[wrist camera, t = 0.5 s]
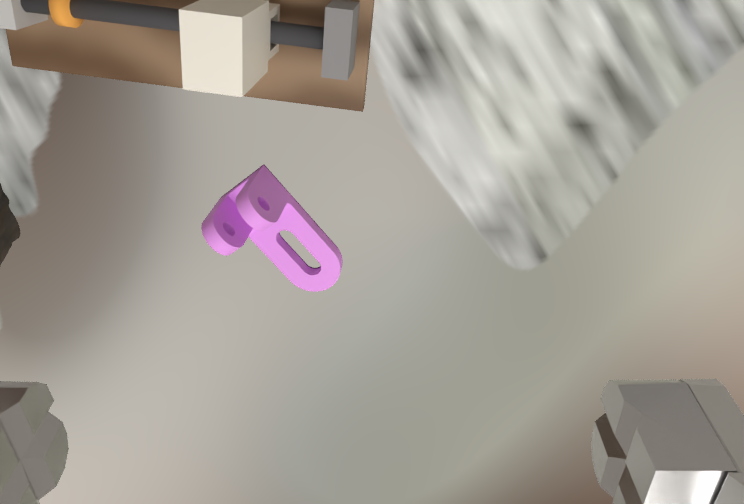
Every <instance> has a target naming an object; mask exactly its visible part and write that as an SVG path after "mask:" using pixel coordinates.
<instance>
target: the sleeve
mask: <svg viewBox="0 0 744 504" xmlns="http://www.w3.org/2000/svg"><path fill="white" fill-rule="evenodd" d="M271 21H278V22H280V4H275V3H269V1H268V0H199V1H196V2H194V3H192V4H190V5H187V6H185V7H183V8H181V9H179V26H180V46H181V65H182V84H183V89H184V90H192V91H199V92H207V93H215V94H222V95H230V96H238V97H243V96H244V95H245V94H246V93H247V92H248V91H249V90H250V89H251V88H252V87H253V86H254V85H255V84H256V83H257V82H258V81H259V80H260V79H261V78H262V77H263V76H264V75H265V74H266V73H267V72H268V61H269V60H270V59H271V58H272V57H273V56H274V55H275V54H276V53H277V52H278V51H279V44H274V43H270V28H271Z"/></svg>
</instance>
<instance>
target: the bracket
mask: <svg viewBox="0 0 744 504" xmlns="http://www.w3.org/2000/svg"><path fill="white" fill-rule="evenodd" d="M282 230H287V231H290V232H292V233H293V234H294V235H295V236H296V238H297V239H298V240H299V241H300V242H301V243H302V244H303V245H304V246H305V248H307V250H308V251H309V252H310V253H311V254H312V255H313V256H314V257H315V258H316V260H317V261H318V262H319V263H320V264H321V266H320V267H317V268H313V267H310V266H308V265H307V264H306V263H305V261H304V260H303V259H302V258H301V257H300V256H299V255H298V254H297V253H296V252H295V251H294V250H293V249H292V247H291V246H290V245H289V244H288V243H287V242H286V241H285V240H284V239H283V237H282V236H281V235H280V233H279V231H282ZM202 233H203V236H204V238H205V240H206V241H207V243H208V244H209V245H210V247H211V248H213V249H214V250H215V251H216V252H218V253H220V254H222V255H230V254H232V253H233V252H235V251H236V250H237V249H239V248H240V247H241V246H243V245H244V243H245V241H246V239H247V238H248V237H249V238H250V239H251V240H252V241H253V242H254V243H255V244H256V245H257V246H258V247H259V248H260V249H261V251H262V252H263V253H264V254H265V255H266V256H267V257H268V258H269V259H270V260H271V261H272V262H273V263H274V264H275V265H276V266H277V267H278V269H279V270H280V271H281V272H282V273H283V274H284V275H285V276H286V277H287V278H288V279H289V280H290V281H291V282H292V283H293V284H294V285H296V286H297V287H299V288H301V289H304V290H307V291H322V290H325V289H328V288H330V287H331V286H332V285H334V283H336V281H337V279H338V278H339V275H340V272H341V268H342V255H341V253H340V250H339V249H338V247H337V246H336V245H335V244H334V243H333V241H332V240H331V239H330V238H329V237H328V236H327V235H326V233H325V232H324V231H323V230H322V229H321V228H320V227H319V226H318V224H317V223H316V222H315V221H314V220H313V219H312V218H311V217H310V215H309V214H308V213H307V212H306V211H305V210H304V209H303V208H302V207H301V205H300V204H299V203H298V202H297V201H296V200H295V198H294V197H293V196H292V195H291V194H290V193H289V192H288V191H287V190H286V188H285V187H284V186H283V185H282V184H281V183H280V182H279V180H278V179H277V178H276V177H275V176H274V175H273V174H272V172H271V171H270V170H269V169H268V168H267V167H266V166H265V165H262V166H261V167H260V168H258V169H257V170H256V171H255V172H253V173H252V174H251V175H250V176H248V177H247V178H245V179H244V180H243V181H241V182H240V183H239V184H238V185H236V186H235V187H234V188H233V189H231V190H230V191H228V192H227V193H226V194H224V195H223V196H222V197H221V198H220V199H219V201H218V202H217V203H216V205H215V206H214V208H213V209H212V210H211V212H210V213H209V214H208V216H207V217H206V218H205V220H204V221H203V223H202Z"/></svg>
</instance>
